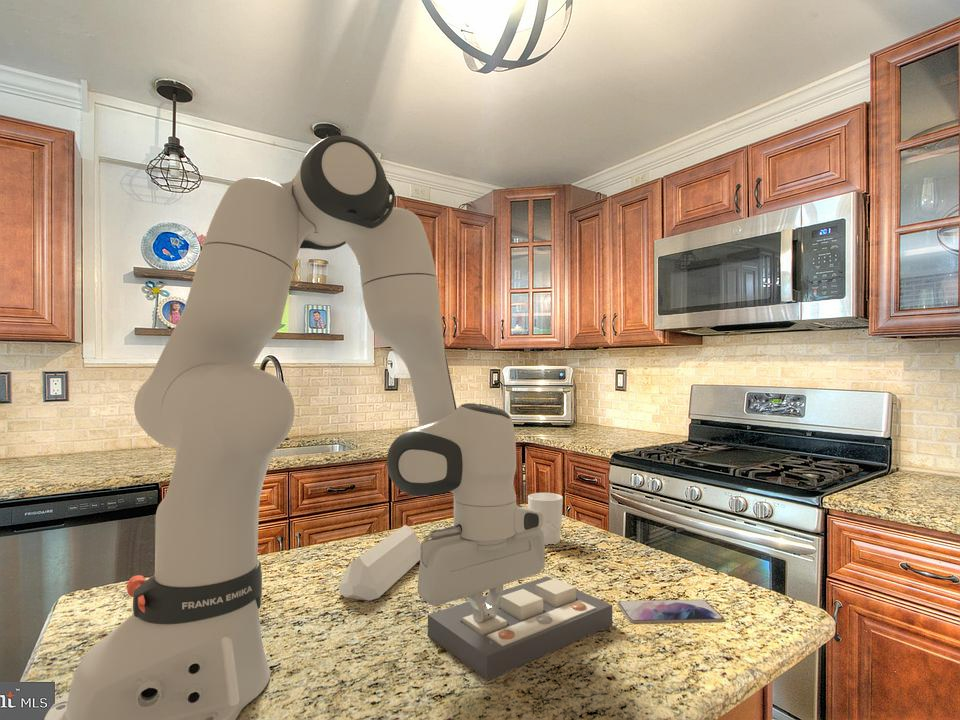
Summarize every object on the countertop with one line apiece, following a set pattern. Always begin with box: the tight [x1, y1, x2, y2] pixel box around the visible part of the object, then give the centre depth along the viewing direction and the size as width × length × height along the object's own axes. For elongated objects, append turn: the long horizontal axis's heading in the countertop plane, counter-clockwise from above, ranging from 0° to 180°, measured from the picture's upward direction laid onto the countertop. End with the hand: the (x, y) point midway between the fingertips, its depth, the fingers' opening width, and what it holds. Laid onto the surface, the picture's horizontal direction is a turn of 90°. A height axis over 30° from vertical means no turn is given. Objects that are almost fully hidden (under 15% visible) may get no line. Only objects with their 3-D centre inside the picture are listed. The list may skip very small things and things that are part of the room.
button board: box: [427, 576, 613, 681], centre depth 78 cm, size 24×14×3 cm, turn 127°
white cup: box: [527, 492, 564, 545], centre depth 120 cm, size 8×8×10 cm
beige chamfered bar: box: [338, 524, 422, 601], centre depth 98 cm, size 7×7×24 cm
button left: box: [463, 614, 507, 635], centre depth 74 cm, size 4×4×3 cm
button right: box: [536, 578, 577, 607], centre depth 82 cm, size 4×4×3 cm
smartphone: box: [617, 599, 725, 625], centre depth 84 cm, size 7×1×15 cm
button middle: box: [501, 589, 543, 621], centre depth 78 cm, size 4×4×3 cm
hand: (484, 618), depth 74 cm, fingers closed, pressing on button left
